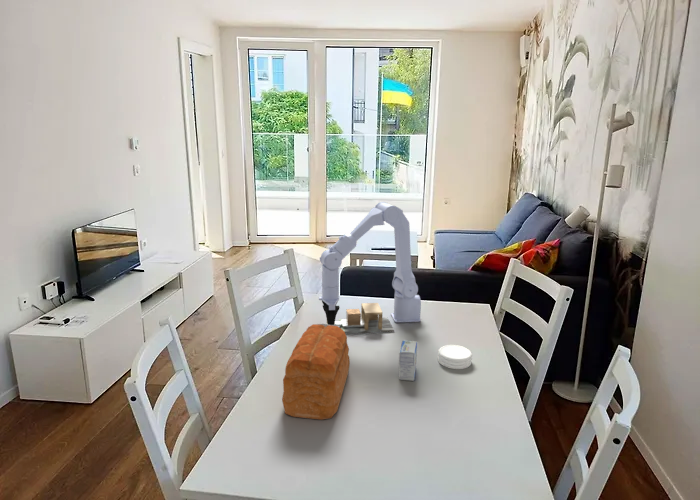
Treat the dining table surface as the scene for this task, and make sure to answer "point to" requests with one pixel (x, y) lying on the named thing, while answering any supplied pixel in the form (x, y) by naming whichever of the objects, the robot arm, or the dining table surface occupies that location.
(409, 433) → the dining table surface
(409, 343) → the medicine box
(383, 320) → the track
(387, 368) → the dining table surface
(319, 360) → the bread
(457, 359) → the coaster
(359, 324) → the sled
